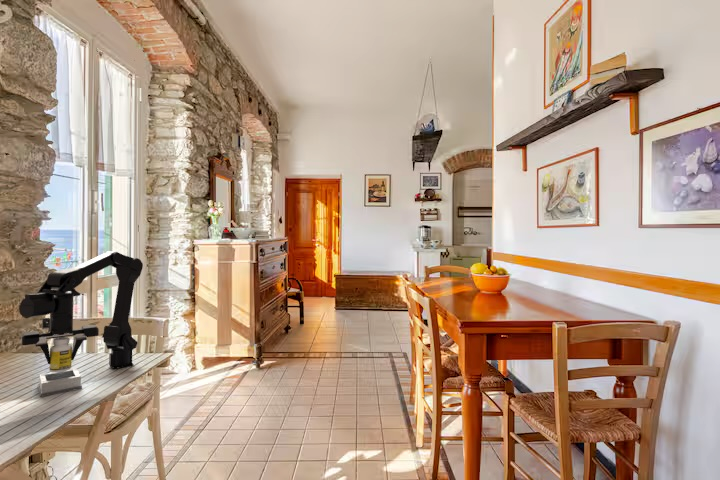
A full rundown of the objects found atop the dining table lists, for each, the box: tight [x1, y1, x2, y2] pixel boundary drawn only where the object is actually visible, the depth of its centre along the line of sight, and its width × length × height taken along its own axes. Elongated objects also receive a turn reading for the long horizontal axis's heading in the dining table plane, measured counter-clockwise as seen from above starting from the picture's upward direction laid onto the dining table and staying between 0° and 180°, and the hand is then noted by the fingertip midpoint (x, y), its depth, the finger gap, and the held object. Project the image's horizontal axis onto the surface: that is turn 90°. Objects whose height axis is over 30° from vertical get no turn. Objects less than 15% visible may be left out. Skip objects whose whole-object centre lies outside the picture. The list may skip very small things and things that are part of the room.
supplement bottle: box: [49, 336, 73, 373], centre depth 120 cm, size 5×5×10 cm
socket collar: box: [37, 368, 83, 398], centre depth 120 cm, size 10×10×4 cm
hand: (60, 361), depth 120 cm, fingers closed on supplement bottle, 5 cm apart
